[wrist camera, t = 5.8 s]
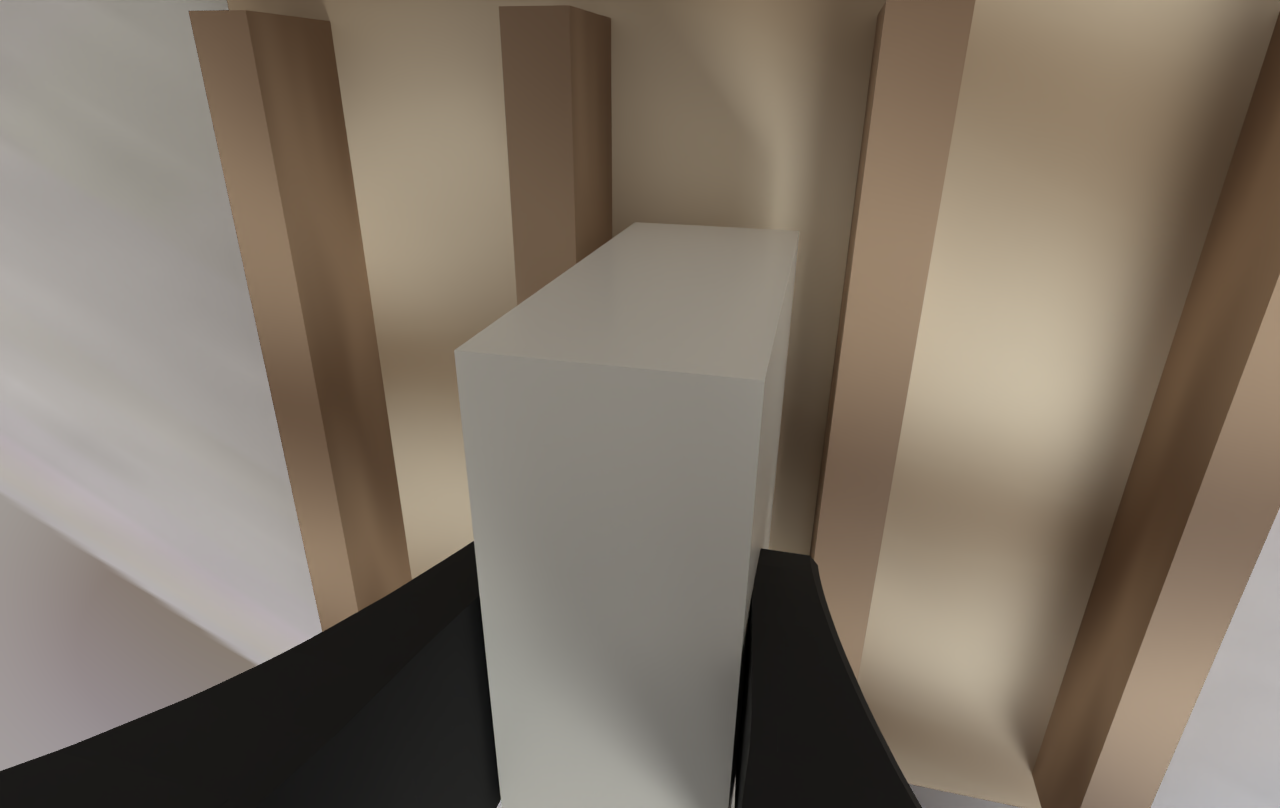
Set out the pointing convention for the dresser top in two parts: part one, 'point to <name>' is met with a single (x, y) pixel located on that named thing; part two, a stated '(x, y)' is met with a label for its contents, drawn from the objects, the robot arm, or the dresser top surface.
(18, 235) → the dresser top surface
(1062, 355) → the dish rack
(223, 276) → the dresser top surface
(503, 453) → the cream slab
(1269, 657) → the dresser top surface
